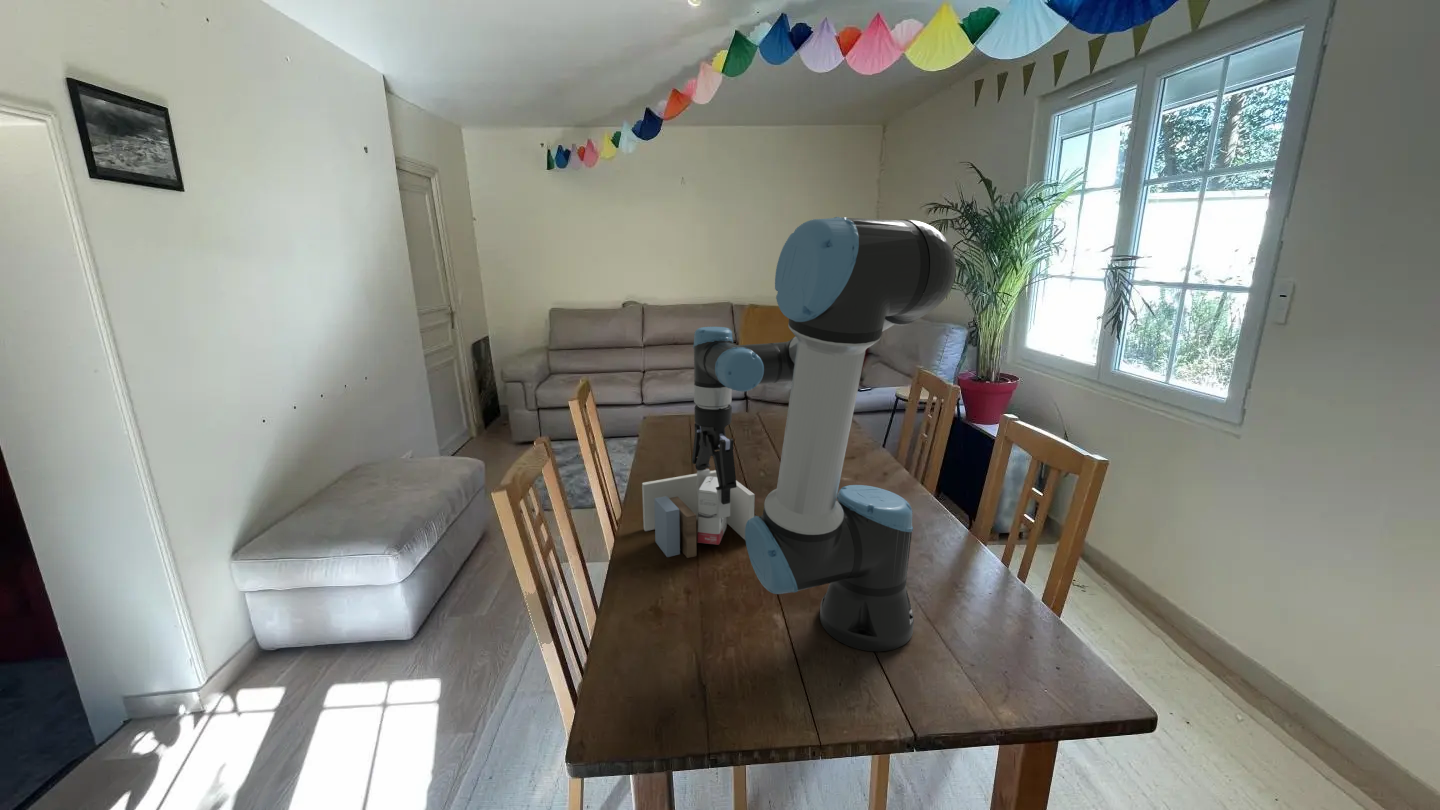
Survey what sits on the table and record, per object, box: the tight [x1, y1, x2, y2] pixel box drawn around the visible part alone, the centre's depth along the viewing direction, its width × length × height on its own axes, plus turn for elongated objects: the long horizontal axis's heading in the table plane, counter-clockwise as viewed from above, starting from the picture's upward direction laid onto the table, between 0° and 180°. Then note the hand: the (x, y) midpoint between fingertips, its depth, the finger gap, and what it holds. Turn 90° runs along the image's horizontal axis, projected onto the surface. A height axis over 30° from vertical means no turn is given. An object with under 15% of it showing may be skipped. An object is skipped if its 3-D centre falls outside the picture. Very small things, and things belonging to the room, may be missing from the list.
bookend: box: [669, 496, 697, 559], centre depth 121 cm, size 10×2×9 cm, turn 26°
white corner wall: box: [641, 469, 756, 558], centre depth 125 cm, size 16×19×11 cm
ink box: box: [696, 476, 728, 545], centre depth 124 cm, size 9×5×12 cm, turn 168°
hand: (713, 507), depth 123 cm, fingers closed on ink box, 9 cm apart
